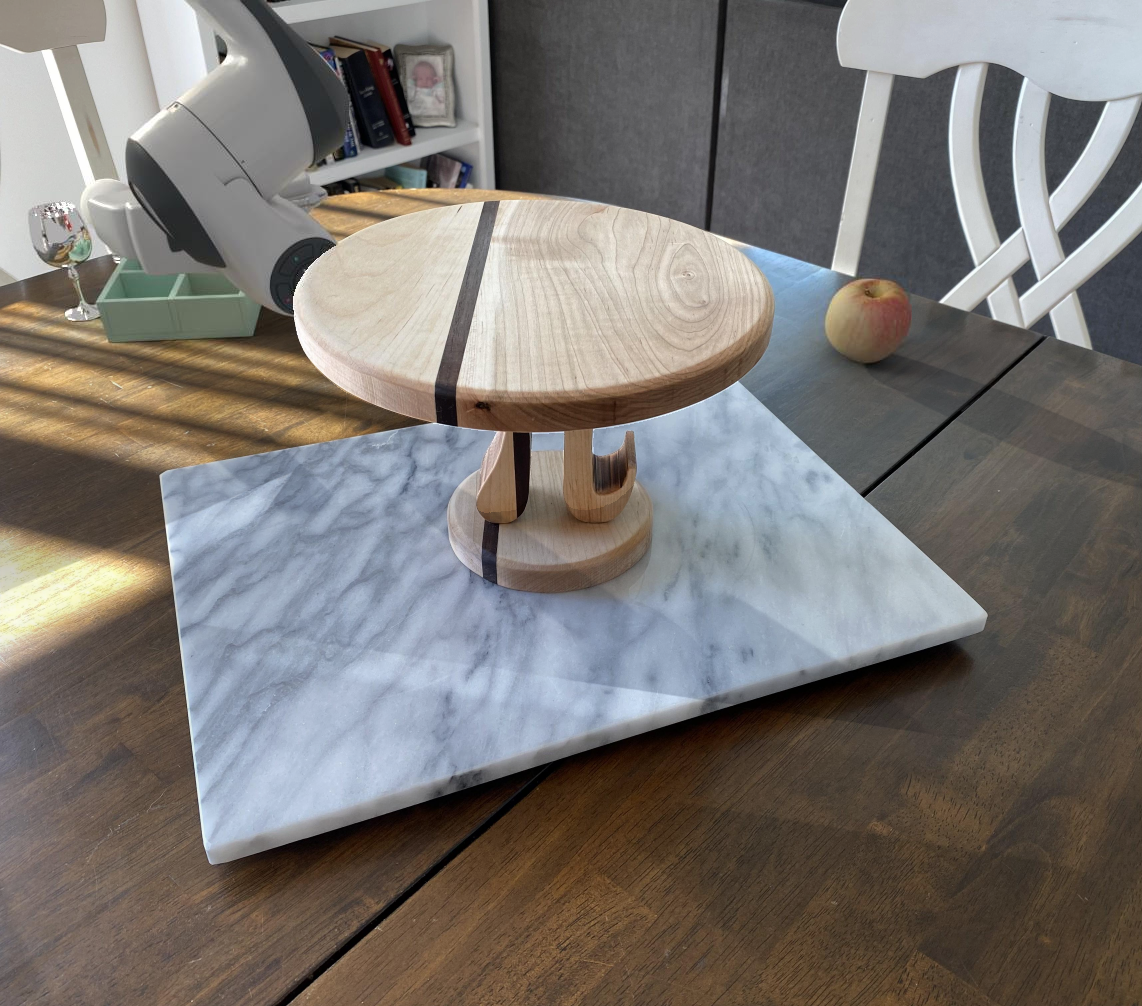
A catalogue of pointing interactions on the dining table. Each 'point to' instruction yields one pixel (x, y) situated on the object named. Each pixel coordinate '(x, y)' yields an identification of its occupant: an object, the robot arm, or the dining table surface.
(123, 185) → the light bulb
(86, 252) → the wineglass
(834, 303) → the apple
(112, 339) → the four compartment organizer
